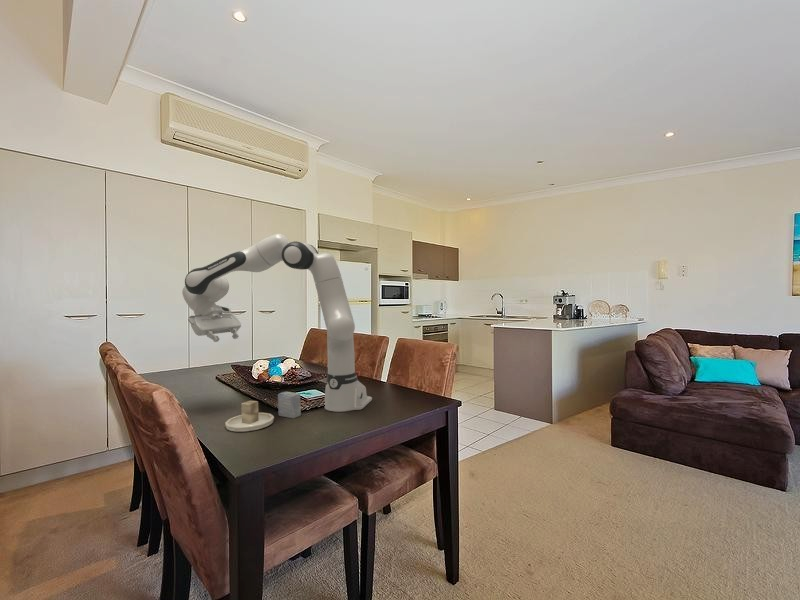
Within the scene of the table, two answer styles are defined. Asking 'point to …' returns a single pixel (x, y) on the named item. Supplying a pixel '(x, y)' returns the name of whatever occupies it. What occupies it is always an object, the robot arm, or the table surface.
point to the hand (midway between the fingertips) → (227, 339)
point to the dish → (238, 426)
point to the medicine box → (289, 404)
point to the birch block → (249, 412)
